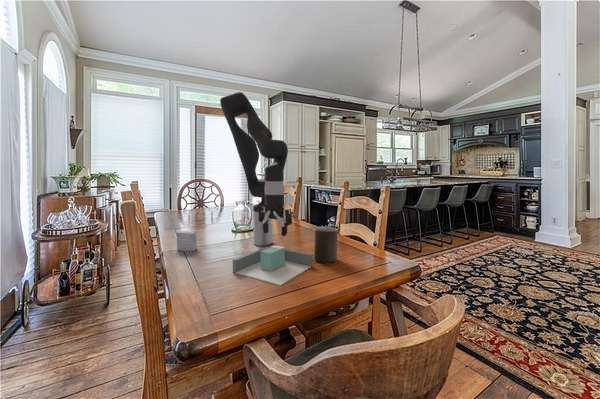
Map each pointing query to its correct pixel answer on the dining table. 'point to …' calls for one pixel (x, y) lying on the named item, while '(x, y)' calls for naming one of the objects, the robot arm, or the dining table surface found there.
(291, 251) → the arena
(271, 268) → the teal block
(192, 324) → the dining table surface
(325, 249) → the pillar candle
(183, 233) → the medicine box
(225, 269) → the dining table surface
